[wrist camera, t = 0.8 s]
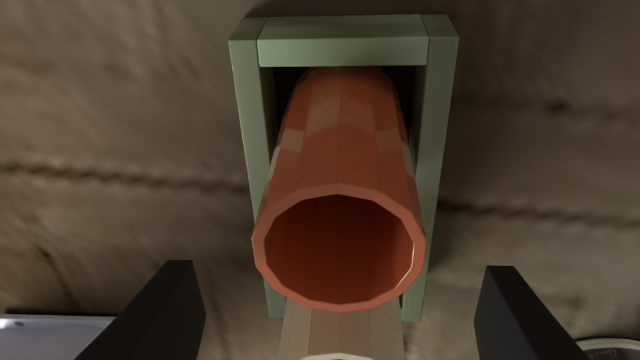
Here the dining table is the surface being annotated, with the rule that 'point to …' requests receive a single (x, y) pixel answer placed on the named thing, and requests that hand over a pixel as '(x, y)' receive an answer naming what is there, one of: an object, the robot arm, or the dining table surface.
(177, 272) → the robot arm
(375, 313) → the cream tumbler
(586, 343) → the coffee can
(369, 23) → the frame
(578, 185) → the dining table surface
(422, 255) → the terracotta tumbler
